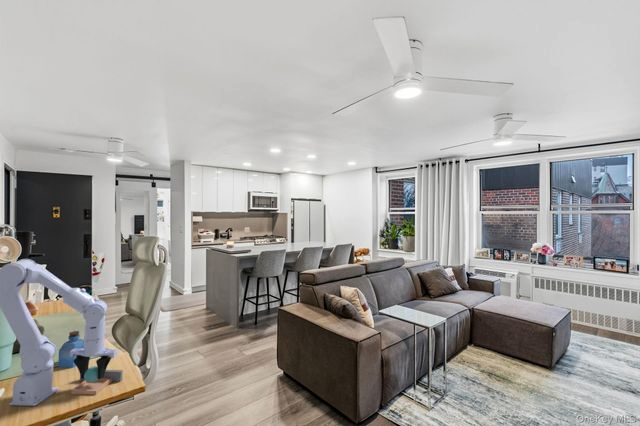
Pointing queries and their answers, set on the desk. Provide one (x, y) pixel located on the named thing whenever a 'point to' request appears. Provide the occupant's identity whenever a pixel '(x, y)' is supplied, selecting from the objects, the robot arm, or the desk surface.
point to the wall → (112, 375)
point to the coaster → (91, 386)
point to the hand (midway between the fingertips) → (92, 377)
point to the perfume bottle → (67, 347)
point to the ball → (91, 374)
